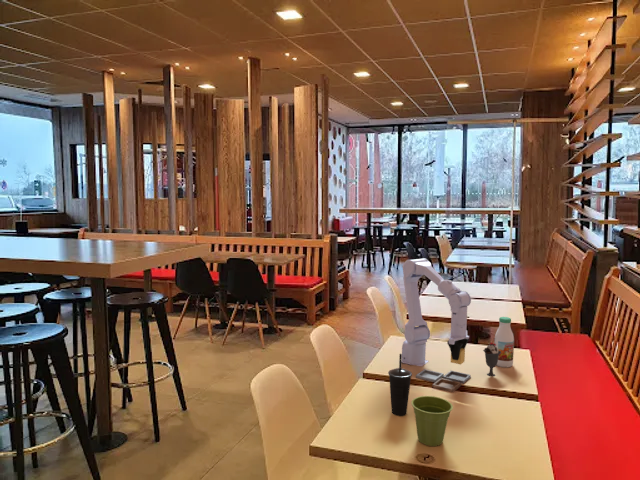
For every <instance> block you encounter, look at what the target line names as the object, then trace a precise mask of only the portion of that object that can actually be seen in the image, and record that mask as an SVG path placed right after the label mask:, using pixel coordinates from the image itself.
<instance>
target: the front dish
mask: <svg viewBox="0 0 640 480" xmlns="http://www.w3.org/2000/svg"><path fill="white" fill-rule="evenodd" d="M431 386H432V387H431V388H434V389H438V390H442V391H445V392H450V393H454V392H455V391H457V390H458V389H459V388H460V387H462V384H461V383H460V382H456V381H451V380H447V379H443V377H442V378H440V379H439V380H438V381H436V382H433V383H432V385H431Z"/></svg>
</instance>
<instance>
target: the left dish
mask: <svg viewBox="0 0 640 480" xmlns="http://www.w3.org/2000/svg"><path fill="white" fill-rule="evenodd" d="M444 375H445V373H443V372H438V371H433V370H429V369H427V368H425V369H424V368H423V369H422V370H421V371H420V372H418V373H417V374H415V378H416V379H420V380H423V381H428V382H432V383H435V382H436V381H438V380H439V379H440V378H443V376H444Z"/></svg>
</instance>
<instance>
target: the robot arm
mask: <svg viewBox="0 0 640 480" xmlns="http://www.w3.org/2000/svg"><path fill="white" fill-rule="evenodd" d="M402 273H403V276H402V277H403V285H404V291H405V298H406V299H405V300H406V306H407V307H406V308H407V313H408V314H407V315H408V321H407V322H406V323H405V324H404V339H405V340H404V341H403V342H402V346H401V354H402V359H401V364H402V363H403V364H407V365H411V366H417V367H423V366H425V365H426V364H427V363H430V361H429V360H426V354H427V353H426V349H427V348H426V346H427V344H426V343H428V340H429V339H430V336H431V329H430V328H429V326H428V322H427V321H426V320H424V319H423V316H422V315H423V314H422V313H423V312H422V308H421V307H422V306H421V301H420V293H419V286H418V281H419V280H420V279H421V277H423V276H425V277H426V278H428V279H429V280H430V281H432V282H433V283H434V284H435V285H436V286H437V290H438V291H439V292H440V294H441V295H443V296H444V297H445V298H446V299H447V300H448V304H449V306H450V311H451V320H450V321H451V322H450V334H449V338H448V340H447V345H448V347H449V350H450V356H451V355H452V359H453V360H458V359H459V354H460V350H461V348H462V349H465V350H466V346H467V344H468V342H469V341H470V335H468V330H467V326H468V324H467V323H468V322H467V321H468V306H470V305H471V302H472V299H471V295H470V294H469V293H468V292H467V291H464V290H461V289H460V288H458V287H457V286H456V285H455V284H454V283H453V281H452V280H450V279H444V278H443V277H442V276H441V275H440V273H439V272H437V270H436V269H435V268H434V267H433V266H432V263H431V262H430V261H429V259H427V258H424V257H422V258H416V259H414V258H413V259H406V260H405V262H404V263H403V264H402Z"/></svg>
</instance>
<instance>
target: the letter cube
mask: <svg viewBox="0 0 640 480" xmlns="http://www.w3.org/2000/svg"><path fill="white" fill-rule="evenodd" d="M465 352H466V348H465V349H462V348H461V350H460V354H459V359H458V360H453V359H452V355H451V354H450V363H453V364H455V365H456V364H457V365H462V364H463V363H465V361H466V360H465V359H466V357H465V356H466V353H465Z"/></svg>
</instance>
